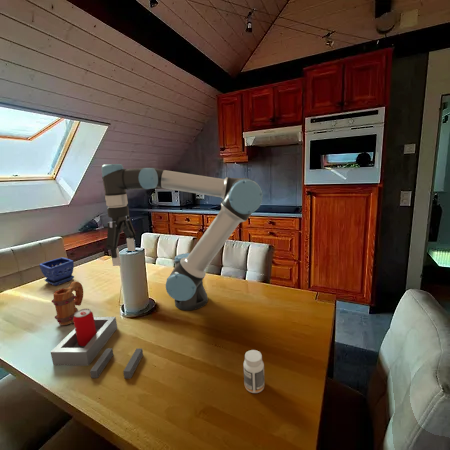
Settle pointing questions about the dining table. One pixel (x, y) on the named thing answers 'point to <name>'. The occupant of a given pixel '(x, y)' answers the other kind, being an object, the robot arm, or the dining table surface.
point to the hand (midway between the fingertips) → (124, 259)
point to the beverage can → (84, 326)
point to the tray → (83, 356)
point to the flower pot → (57, 270)
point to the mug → (67, 302)
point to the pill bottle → (253, 371)
